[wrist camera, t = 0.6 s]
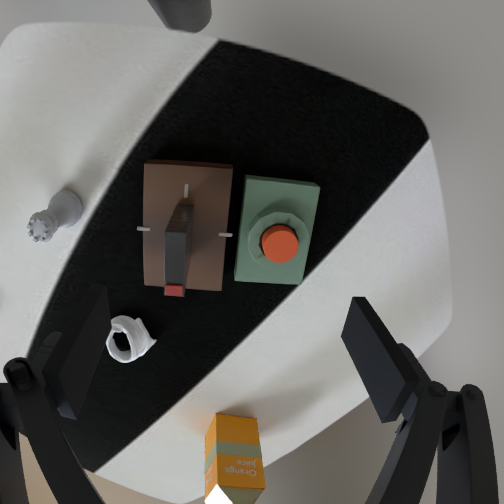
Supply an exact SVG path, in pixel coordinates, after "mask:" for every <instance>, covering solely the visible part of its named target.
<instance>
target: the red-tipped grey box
mask: <svg viewBox="0 0 504 504" xmlns="http://www.w3.org/2000/svg"><path fill="white" fill-rule="evenodd" d="M193 215H194V205H188V204H177V205H176V207H175V209H174V211H173V214H172V216H171V218H170V220H169V222H168V225H167V227H166V229H165V231H164V295H169V296H182V297H184V295H185V289H186V284H187V278H188V272H189V267H190V261H191V251H192V232H193Z"/></svg>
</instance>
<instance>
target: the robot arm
mask: <svg viewBox="0 0 504 504" xmlns="http://www.w3.org/2000/svg"><path fill="white" fill-rule="evenodd" d="M111 329H112V324H111V318H110V312H109V305H108V298H107V291H106V285H98V284H92V286H91V287H90V289H89V290H88V292H87V294H86V295H85V297H84V298H83V300H82V301H81V303H80V305H79V306H78V308H77V310H76V311H75V313H74V314H73V316H72V318H71V319H70V321H69V323H68V324H67V326H66V328H65V330H64V331H63V333H59V332H53V333H52V334H50V335H49V336H48V337H47V338H46V339H45V341H44V342H43V344H42V347H40V349H39V351H38V353H37V354H36V356H35V357H34V359H33V361H32V363H31V362H30V361H29V360H28V359H26V358H22V357H18V358H14V359H12V360H10V361H8V362H7V363H6V364H5V366H4V369H3V373H4V376H5V378H6V380H7V382H8V383H0V504H29V501H28V496H27V491H26V486H25V479H24V474H23V467H22V460H21V452H20V442H19V431H18V428H24V430H25V432H26V435H27V438H28V440H29V443H30V445H31V447H32V450H33V452H34V454H35V457H36V459H37V461H38V464H39V466H40V468H41V470H42V472H43V474H44V477H45V479H46V480H47V483H48V485H49V487H50V489H51V490H52V493H53V494H54V496H55V498H56V500H57V502H58V504H106V503H105V502H104V501H103V499H102V497H101V496H100V494H99V493H98V491H97V490H96V488H95V487H94V486H93V484H92V482H91V481H90V479H89V478H88V476H87V474H86V473H85V471H84V469H83V468H82V466H81V464H80V462H79V461H78V459H77V457H76V455H75V454H74V452H73V450H72V448H71V446H70V444H69V443H68V441H67V439H66V437H65V435H64V433H63V431H62V429H61V427H60V425H59V423H58V421H57V419H56V417H55V413H56V410H57V408H58V410H59V412H60V414H61V416H63V417H67V418H72V419H76V420H77V418H78V415H79V412H80V409H81V407H82V404H83V401H84V398H85V395H86V393H87V390H88V387H89V384H90V382H91V379H92V376H93V374H94V371H95V369H96V366H97V363H98V361H99V358H100V356H101V353H102V351H103V348H104V346H105V344H106V341H107V339H108V336H109V334H110V331H111ZM341 338H342V340H343V342H344V344H345V346H346V348H347V350H348V352H349V354H350V356H351V358H352V360H353V362H354V364H355V367H356V369H357V371H358V373H359V375H360V377H361V379H362V381H363V383H364V385H365V388H366V390H367V392H368V394H369V396H370V398H371V400H372V403H373V405H374V407H375V409H376V411H377V413H378V416H379V418H380V420H381V422H382V423H386V422H391V421H396V419H397V418H398V416H399V415H400V413H402V415H403V417H404V419H403V421H402V422H401V424H400V425H399V427H398V429H397V430H396V431H395V433H397V435H396V438H395V440H394V442H393V445H392V447H391V450H390V452H389V455H388V457H387V459H386V461H385V464H384V466H383V468H382V470H381V472H380V474H379V476H378V479H377V480H376V483H375V485H374V487H373V489H372V491H371V493H370V495H369V496H368V498H367V500H366V502H365V504H419V502H420V499H421V496H422V493H423V491H424V488H425V485H426V482H427V479H428V476H429V472H430V469H431V466H432V462H433V459H434V456H435V451H436V448H438V449H437V450H438V464H437V465H438V467H437V470H438V471H437V497H436V504H499V498H498V485H497V473H496V464H495V456H494V449H493V442H492V436H491V430H490V424H489V419H488V414H487V410H486V405H485V400H484V396H483V393H482V391H481V390H480V389H479V388H478V387H477V386H474V385H472V384H466V385H464V386H463V387H462V389H461V390H460V392H455V391H448V390H447V389H446V387H445V386H444V385H442V384H441V383H439V382H436V381H431V379H430V378H429V376H428V375H427V374H426V372H425V371H424V369H423V367H422V366H421V365H420V363H418V360H417V359H416V357H415V356H414V354H413V353H412V351H411V350H410V349H409V348H408V347H407V346H405V345H404V344H403V343H398V344H397V343H396V341H395V340H394V338H393V337H392V335H391V334H390V332H389V331H388V329H387V328H386V326H385V325H384V324H383V322H382V321H381V319H380V318H379V316H378V315H377V313H376V312H375V311H374V309H373V308H372V306H371V305H370V303H369V302H368V301H367V299H366V298H365V297H352V301H351V304H350V308H349V311H348V315H347V318H346V322H345V325H344V328H343V331H342V335H341Z"/></svg>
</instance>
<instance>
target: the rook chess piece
mask: <svg viewBox="0 0 504 504" xmlns="http://www.w3.org/2000/svg"><path fill="white" fill-rule="evenodd" d="M81 214H82V205H81V202H80V200H79V198H78V197H77V196H76V195H75V194H74V193H73V192H70V191H68V190H62V191H60V192H58V193H57V194H56V195H54V196H53V197H52V199H51V200H50V202H49V205H48V209H47V210H43V211H41V212H37V213H35V214H33V215H32V216H31V218H30V221H29V224H28V227H27V228H29V229H30V231H29V232H28V234H29V236H33V237H34V239H33V241H35V242H37V241H40V242H47V241H49V240H50V239H51V238H52V236H53V234H54V233H55V232H56V231H57V228H59V227H60V228H68V227H70V226H73V225H74V224H76V223H77V222H78V221H79V219H80V218H81Z"/></svg>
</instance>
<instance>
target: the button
mask: <svg viewBox="0 0 504 504" xmlns="http://www.w3.org/2000/svg"><path fill="white" fill-rule="evenodd" d="M262 247H263V250H264V253H265V255H266V257H267V258H268V259H269V260H271V261H273V262H276V263H283V262H287V261H289V260H290V259H292V258H293V257H294V256H295V254H296V253H297V250H298V240H297V238H296V236H295V235H294V233H293V231H292V230H291V229H290V228H289V227H287V226H284V225H274V226H272V227H270V228H268V229H267V230H266V231H265V233H264V234H263V237H262Z"/></svg>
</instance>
